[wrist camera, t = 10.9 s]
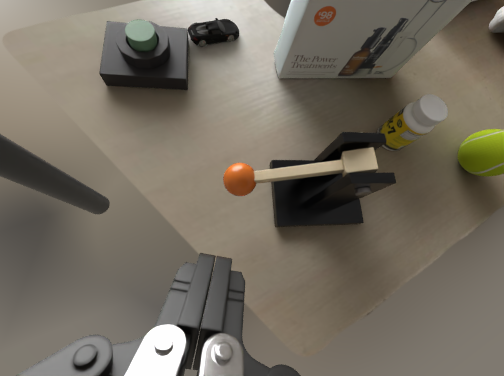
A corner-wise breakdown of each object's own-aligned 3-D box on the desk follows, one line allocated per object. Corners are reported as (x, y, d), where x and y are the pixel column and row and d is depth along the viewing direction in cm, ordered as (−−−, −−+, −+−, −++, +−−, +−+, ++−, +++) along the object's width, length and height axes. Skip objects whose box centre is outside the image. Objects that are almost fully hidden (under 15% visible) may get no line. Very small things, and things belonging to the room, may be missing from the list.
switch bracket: (274, 227, 32) (312, 206, 20) (269, 163, 35) (300, 111, 22) (358, 224, 34) (439, 203, 22) (347, 164, 37) (415, 115, 24)
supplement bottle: (377, 120, 40) (419, 85, 32) (404, 130, 40) (452, 98, 32) (373, 145, 38) (416, 115, 30) (401, 156, 38) (450, 128, 31)
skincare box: (277, 82, 39) (319, -31, 24) (272, 54, 40) (308, -69, 25) (393, 81, 43) (491, -17, 28) (384, 55, 44) (473, -51, 29)
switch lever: (230, 200, 28) (218, 193, 25) (229, 171, 29) (218, 160, 26) (372, 185, 25) (382, 174, 21) (366, 152, 26) (374, 137, 22)
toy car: (234, 24, 41) (235, 12, 39) (241, 40, 40) (242, 29, 38) (186, 32, 39) (185, 19, 37) (193, 49, 38) (192, 37, 36)
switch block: (106, 85, 34) (93, 63, 30) (113, 35, 37) (101, 9, 33) (187, 90, 36) (184, 69, 32) (188, 41, 38) (186, 17, 35)
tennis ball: (439, 147, 40) (484, 124, 34) (471, 139, 42) (520, 116, 35) (459, 186, 39) (510, 171, 32) (491, 177, 40) (547, 160, 33)
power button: (128, 51, 32) (123, 40, 30) (130, 30, 33) (126, 17, 31) (156, 53, 33) (153, 42, 31) (158, 32, 34) (155, 20, 32)
